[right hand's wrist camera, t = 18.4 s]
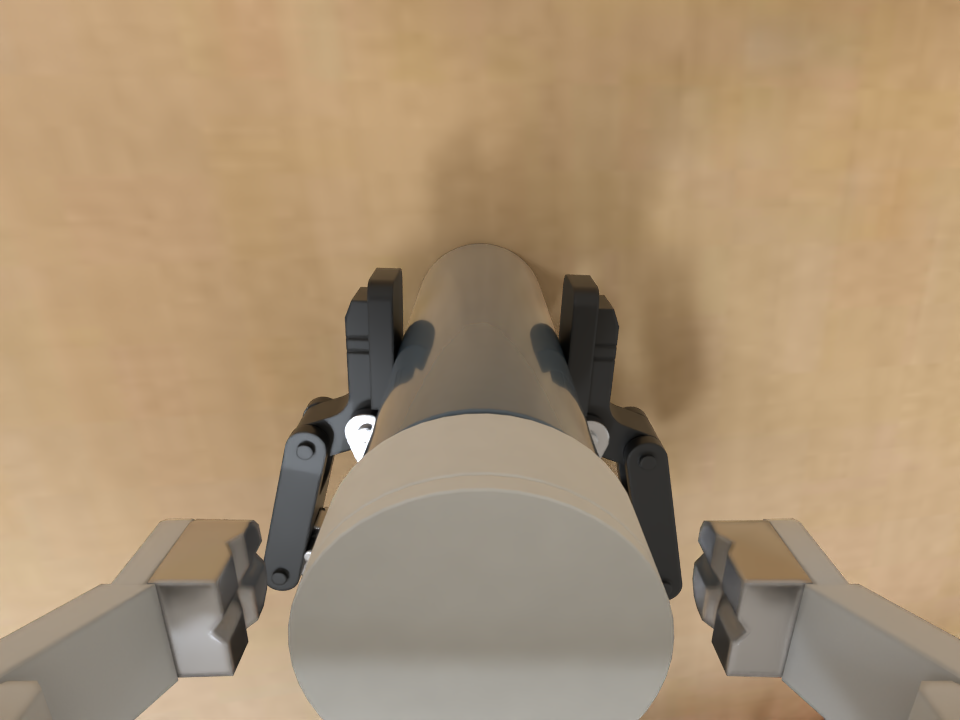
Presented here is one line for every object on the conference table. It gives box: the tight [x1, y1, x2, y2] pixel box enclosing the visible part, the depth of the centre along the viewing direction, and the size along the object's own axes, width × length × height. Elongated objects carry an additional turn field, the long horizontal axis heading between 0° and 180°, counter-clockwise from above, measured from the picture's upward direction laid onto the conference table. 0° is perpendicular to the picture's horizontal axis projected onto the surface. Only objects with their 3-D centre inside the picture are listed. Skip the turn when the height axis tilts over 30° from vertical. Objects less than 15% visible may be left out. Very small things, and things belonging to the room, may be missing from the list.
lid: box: [288, 414, 674, 720], centre depth 10 cm, size 5×5×2 cm
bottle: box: [362, 244, 600, 458], centre depth 17 cm, size 5×5×16 cm
